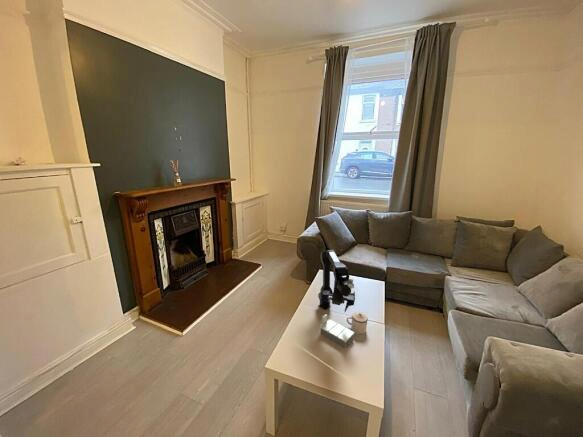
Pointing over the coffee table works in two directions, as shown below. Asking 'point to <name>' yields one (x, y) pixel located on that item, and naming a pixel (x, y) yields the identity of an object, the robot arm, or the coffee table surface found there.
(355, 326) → the teacup with lid
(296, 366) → the coffee table surface
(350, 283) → the toy rover
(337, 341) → the tub
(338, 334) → the lid
